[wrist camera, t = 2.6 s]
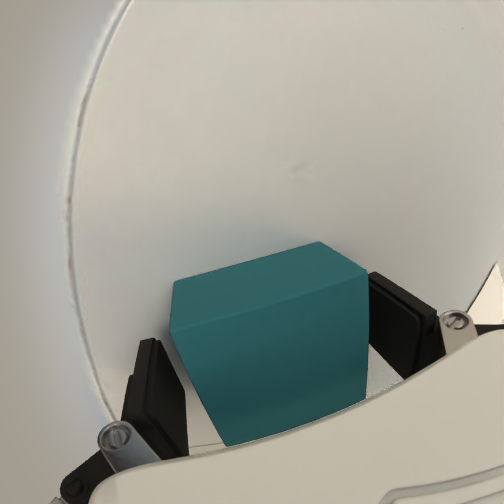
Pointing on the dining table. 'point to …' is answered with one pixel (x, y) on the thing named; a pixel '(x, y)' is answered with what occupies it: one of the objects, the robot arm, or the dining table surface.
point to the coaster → (489, 301)
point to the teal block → (274, 340)
